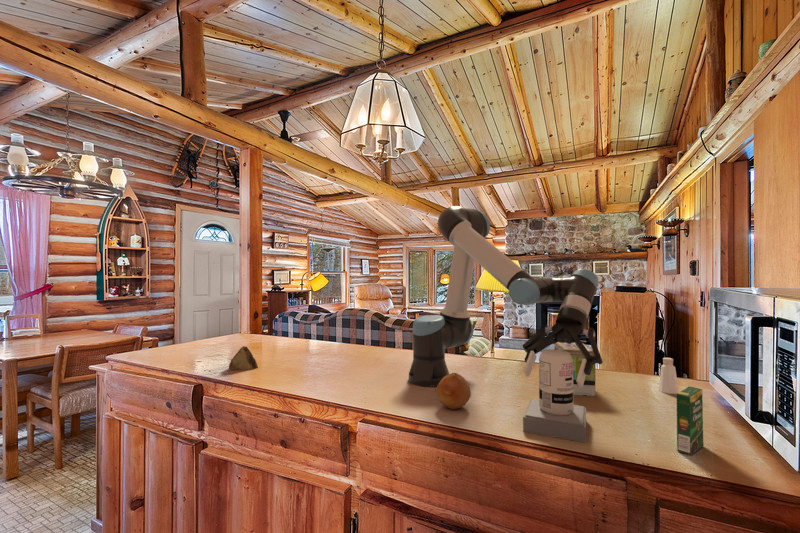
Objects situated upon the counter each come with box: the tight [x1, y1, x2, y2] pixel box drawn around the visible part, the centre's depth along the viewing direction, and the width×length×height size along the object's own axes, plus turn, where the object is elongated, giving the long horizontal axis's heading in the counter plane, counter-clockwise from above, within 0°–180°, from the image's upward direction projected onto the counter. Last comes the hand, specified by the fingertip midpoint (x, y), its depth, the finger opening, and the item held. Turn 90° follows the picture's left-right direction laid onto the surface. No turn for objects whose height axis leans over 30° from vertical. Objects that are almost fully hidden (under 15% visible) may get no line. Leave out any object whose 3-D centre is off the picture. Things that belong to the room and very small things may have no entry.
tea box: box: [554, 341, 597, 397], centre depth 127 cm, size 15×10×15 cm, turn 168°
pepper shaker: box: [658, 357, 680, 395], centre depth 123 cm, size 5×5×11 cm
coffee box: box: [675, 386, 705, 457], centre depth 84 cm, size 8×3×13 cm, turn 125°
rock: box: [228, 345, 259, 371], centre depth 157 cm, size 11×9×10 cm
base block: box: [522, 398, 587, 444], centre depth 96 cm, size 14×14×4 cm
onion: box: [436, 372, 472, 410], centre depth 110 cm, size 10×10×10 cm
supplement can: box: [538, 349, 575, 416], centre depth 96 cm, size 8×8×15 cm
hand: (551, 378), depth 95 cm, fingers open, 13 cm apart
